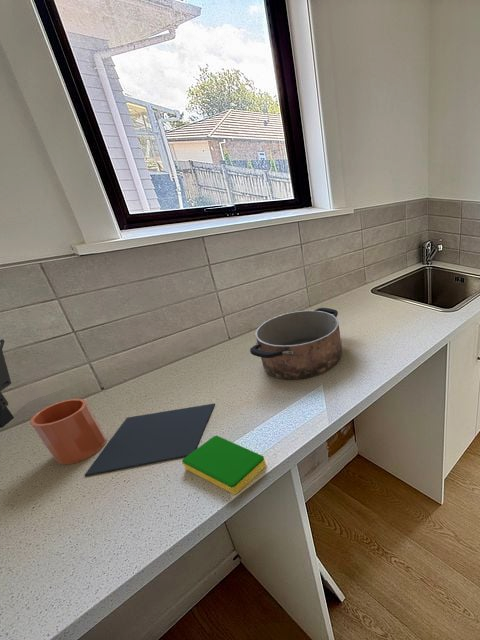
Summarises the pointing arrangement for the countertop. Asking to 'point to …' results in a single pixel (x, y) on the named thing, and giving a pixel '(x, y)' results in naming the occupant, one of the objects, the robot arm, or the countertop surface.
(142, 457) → the mat
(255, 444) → the countertop surface
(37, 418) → the cup
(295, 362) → the cooking pot
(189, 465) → the dish sponge
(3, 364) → the robot arm
